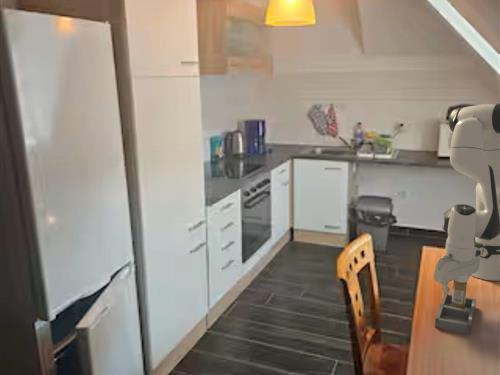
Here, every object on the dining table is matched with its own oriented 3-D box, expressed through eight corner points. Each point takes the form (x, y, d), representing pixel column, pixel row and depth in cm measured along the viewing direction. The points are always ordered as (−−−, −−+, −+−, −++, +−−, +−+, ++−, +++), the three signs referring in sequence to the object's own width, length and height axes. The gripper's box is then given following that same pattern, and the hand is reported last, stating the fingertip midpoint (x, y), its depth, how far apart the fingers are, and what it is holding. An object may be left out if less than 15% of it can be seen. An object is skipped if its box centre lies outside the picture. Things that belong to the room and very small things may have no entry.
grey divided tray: (443, 301, 174) (444, 292, 173) (475, 308, 169) (476, 298, 168) (434, 328, 156) (435, 318, 155) (469, 336, 151) (470, 325, 150)
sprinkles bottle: (467, 310, 166) (470, 275, 163) (459, 314, 163) (463, 278, 160) (455, 305, 170) (458, 270, 166) (447, 309, 167) (450, 274, 164)
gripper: (446, 261, 154) (442, 299, 157) (485, 249, 164) (480, 285, 168) (431, 254, 159) (426, 291, 163) (469, 243, 169) (464, 279, 173)
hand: (454, 288), depth 165 cm, fingers open, 8 cm apart
